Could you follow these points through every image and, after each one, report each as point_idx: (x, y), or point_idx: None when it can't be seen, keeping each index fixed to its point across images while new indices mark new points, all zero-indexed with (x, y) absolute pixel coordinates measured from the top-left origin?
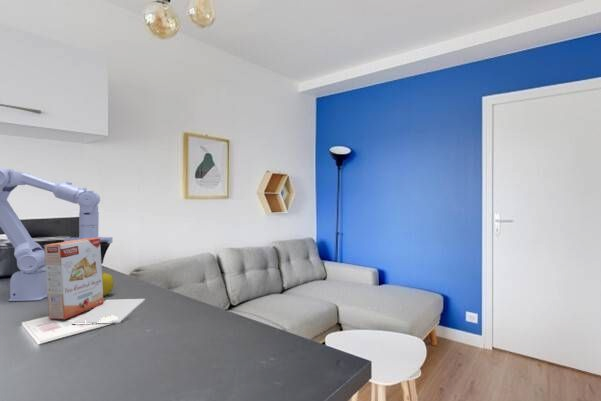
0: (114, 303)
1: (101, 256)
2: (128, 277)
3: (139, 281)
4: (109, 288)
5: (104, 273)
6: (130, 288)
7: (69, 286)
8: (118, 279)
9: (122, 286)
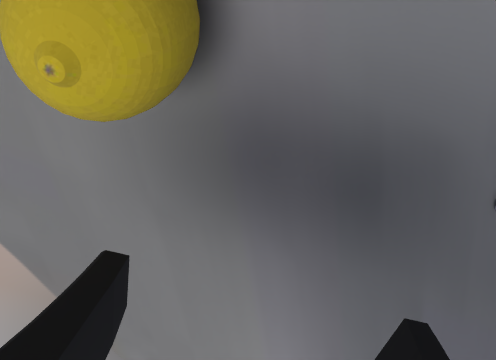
0: None
1: (16, 334)
2: (119, 349)
3: (30, 266)
4: None
5: (47, 52)
6: (23, 139)
7: None
8: (160, 337)
9: (94, 205)
